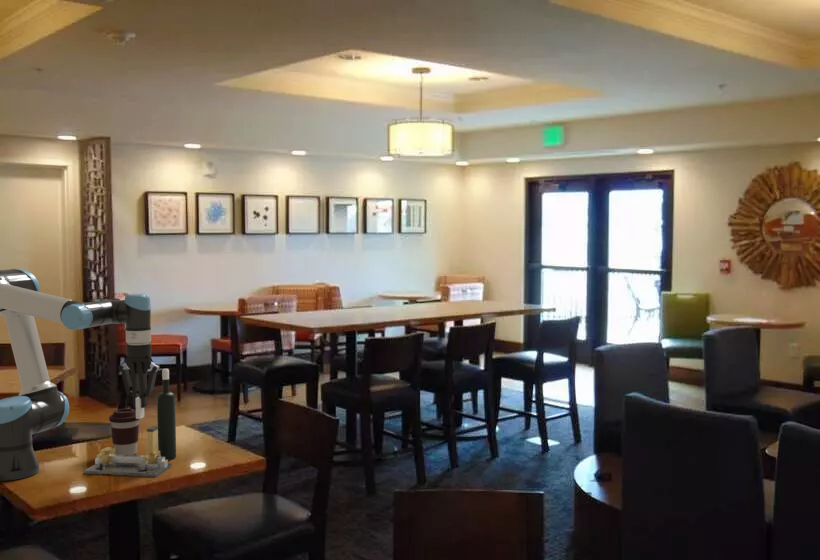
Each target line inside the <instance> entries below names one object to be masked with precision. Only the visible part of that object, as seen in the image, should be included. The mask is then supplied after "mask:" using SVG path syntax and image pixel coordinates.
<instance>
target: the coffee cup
mask: <svg viewBox="0 0 820 560" xmlns="http://www.w3.org/2000/svg"><path fill="white" fill-rule="evenodd" d="M108 420H109V422H110V423H111V425H110V429H111V430H110V431H111V441H112V445H113V447H115V454H120V455H137V453H138V442H139V427H140V424H139V420H140V419H136V409H134V408H119V409H116V410H114V411H113V414H110V415H109V417H108Z"/></svg>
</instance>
